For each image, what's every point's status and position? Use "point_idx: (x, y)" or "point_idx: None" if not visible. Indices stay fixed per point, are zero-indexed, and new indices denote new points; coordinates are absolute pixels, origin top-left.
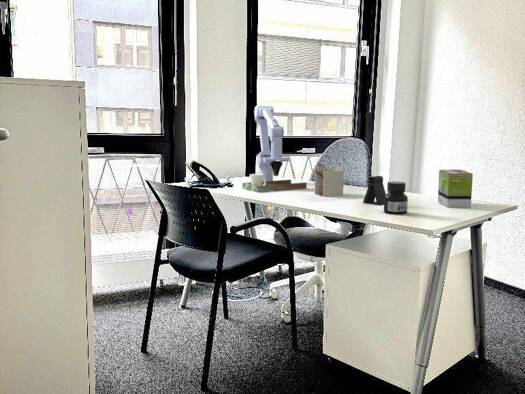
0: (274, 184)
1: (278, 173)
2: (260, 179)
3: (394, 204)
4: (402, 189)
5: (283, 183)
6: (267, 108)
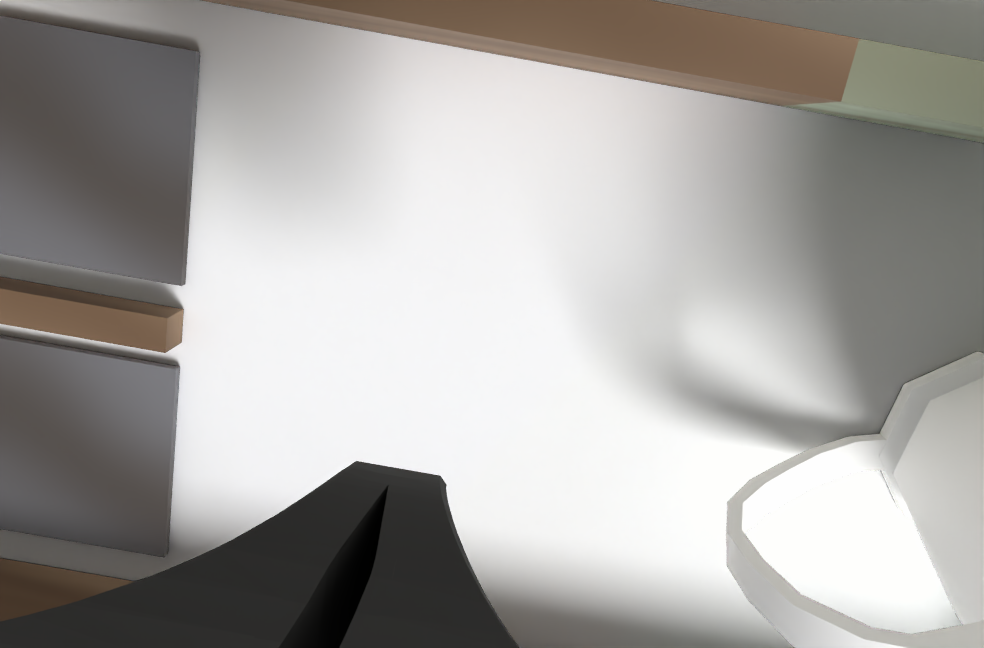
0: None
1: (337, 484)
2: None
3: None
4: None
5: (17, 596)
6: None
